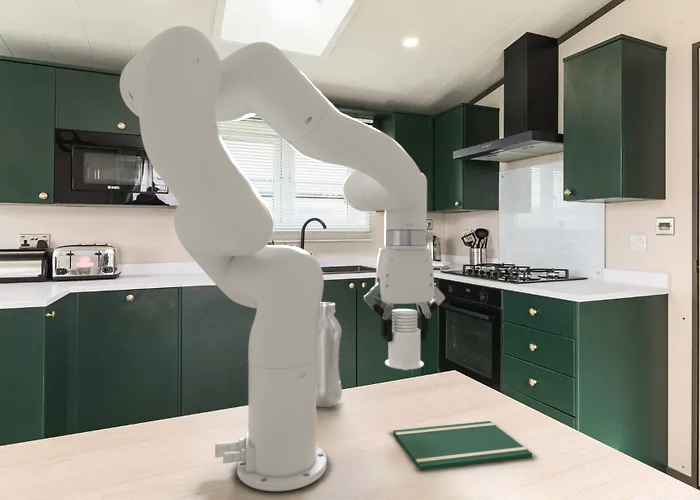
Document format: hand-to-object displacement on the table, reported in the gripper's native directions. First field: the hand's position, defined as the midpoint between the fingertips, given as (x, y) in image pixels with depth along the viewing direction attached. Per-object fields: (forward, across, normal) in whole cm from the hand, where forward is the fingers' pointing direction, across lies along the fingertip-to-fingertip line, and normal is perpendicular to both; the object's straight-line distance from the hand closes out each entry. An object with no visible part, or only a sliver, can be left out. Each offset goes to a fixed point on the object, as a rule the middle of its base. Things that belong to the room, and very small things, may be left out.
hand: (404, 338), depth 80 cm
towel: (+15, -5, +12) cm, 20 cm away
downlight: (+5, 0, 0) cm, 5 cm away
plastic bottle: (+15, +13, -9) cm, 22 cm away
